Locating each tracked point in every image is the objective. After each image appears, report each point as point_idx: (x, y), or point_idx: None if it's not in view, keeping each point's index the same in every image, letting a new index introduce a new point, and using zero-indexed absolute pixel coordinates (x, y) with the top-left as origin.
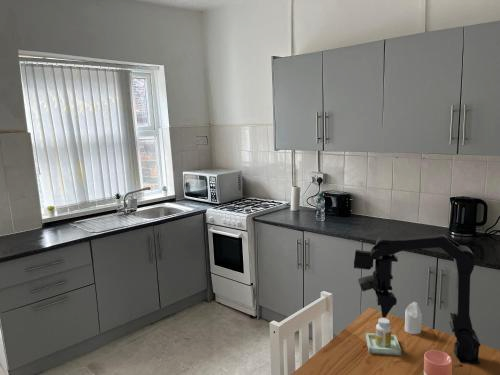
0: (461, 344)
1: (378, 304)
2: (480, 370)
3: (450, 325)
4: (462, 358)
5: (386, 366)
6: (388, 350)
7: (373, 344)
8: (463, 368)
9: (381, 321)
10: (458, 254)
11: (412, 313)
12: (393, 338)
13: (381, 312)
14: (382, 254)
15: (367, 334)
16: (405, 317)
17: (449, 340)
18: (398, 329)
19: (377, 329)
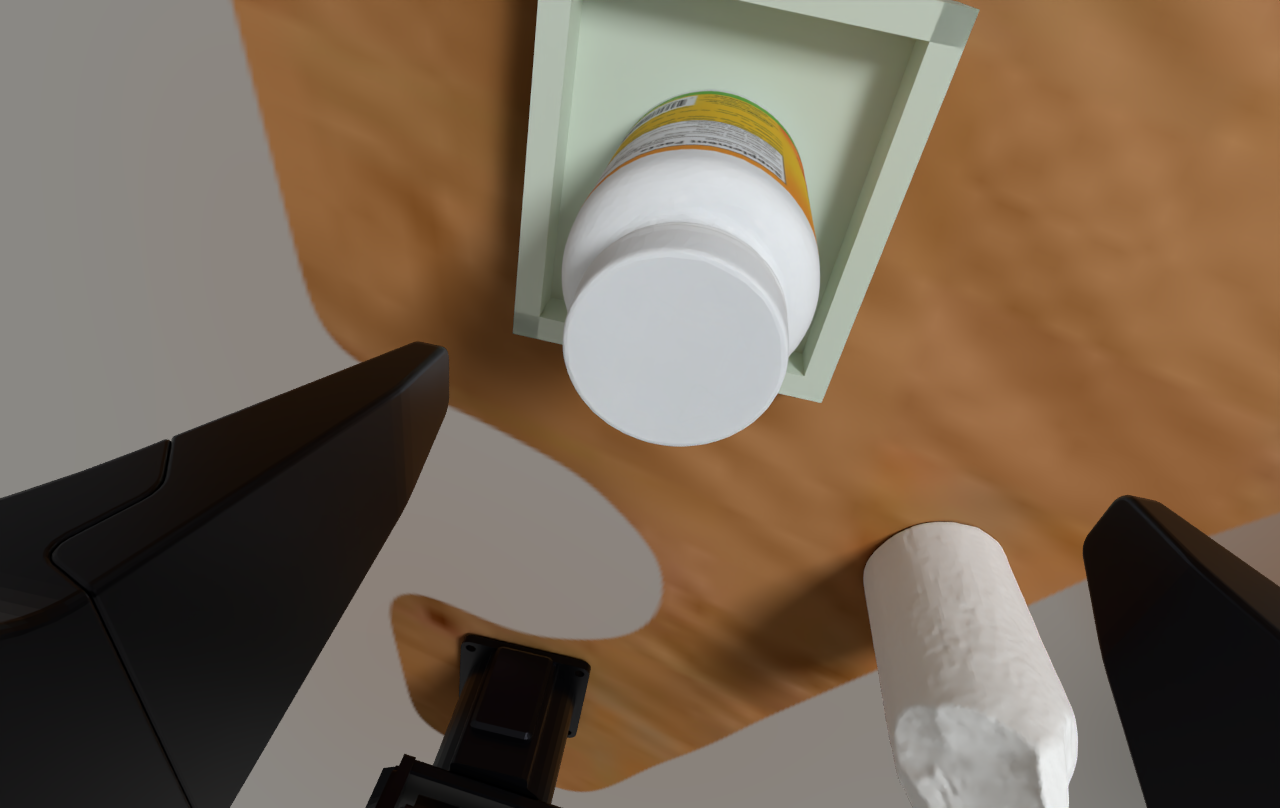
0: (451, 761)
1: (1122, 521)
2: (403, 673)
3: None
4: (482, 665)
5: (314, 62)
6: (526, 194)
7: (727, 55)
8: (407, 616)
9: (634, 296)
10: None
11: (949, 750)
12: (803, 356)
13: (359, 396)
14: None
15: (925, 27)
16: (1007, 645)
17: (732, 705)
18: (1003, 479)
19: (652, 159)
